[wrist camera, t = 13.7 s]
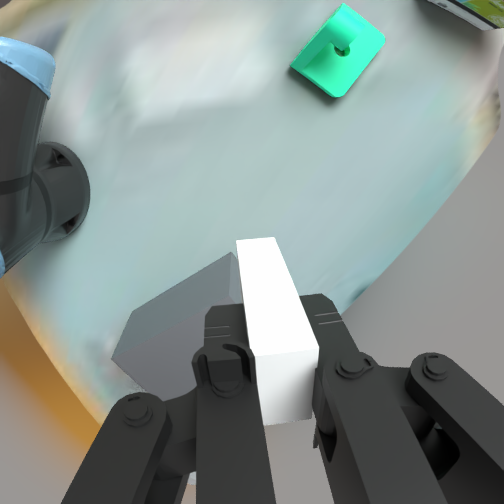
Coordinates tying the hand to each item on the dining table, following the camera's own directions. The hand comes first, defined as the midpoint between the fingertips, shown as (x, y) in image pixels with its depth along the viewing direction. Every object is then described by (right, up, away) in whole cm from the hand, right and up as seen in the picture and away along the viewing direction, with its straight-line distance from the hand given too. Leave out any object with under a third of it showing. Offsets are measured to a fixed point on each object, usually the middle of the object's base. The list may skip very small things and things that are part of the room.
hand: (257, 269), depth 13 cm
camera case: (-8, -9, +38) cm, 40 cm away
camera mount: (+11, +28, +23) cm, 38 cm away
